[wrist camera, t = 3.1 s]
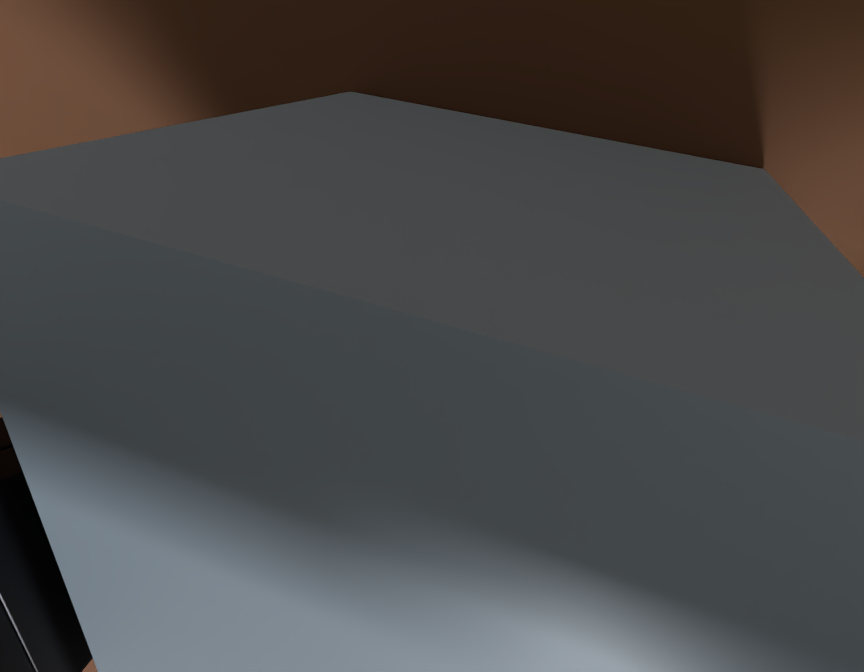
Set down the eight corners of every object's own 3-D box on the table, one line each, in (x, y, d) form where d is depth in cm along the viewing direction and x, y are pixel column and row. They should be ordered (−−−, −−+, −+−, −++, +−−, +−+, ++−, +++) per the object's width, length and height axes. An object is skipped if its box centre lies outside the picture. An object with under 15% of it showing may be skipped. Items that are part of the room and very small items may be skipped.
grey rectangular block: (588, 569, 12) (546, 988, 7) (334, 477, 14) (133, 766, 8) (764, 169, 8) (1064, 499, 2) (350, 91, 9) (-90, 175, 4)
